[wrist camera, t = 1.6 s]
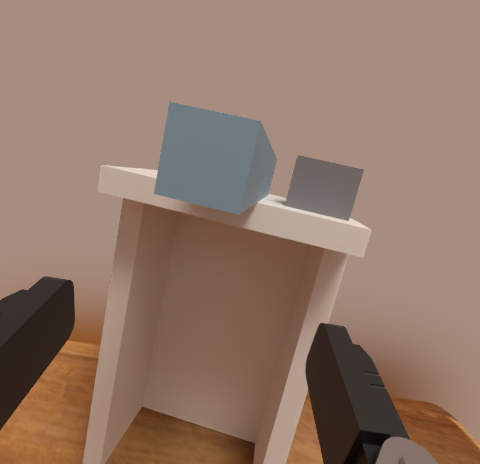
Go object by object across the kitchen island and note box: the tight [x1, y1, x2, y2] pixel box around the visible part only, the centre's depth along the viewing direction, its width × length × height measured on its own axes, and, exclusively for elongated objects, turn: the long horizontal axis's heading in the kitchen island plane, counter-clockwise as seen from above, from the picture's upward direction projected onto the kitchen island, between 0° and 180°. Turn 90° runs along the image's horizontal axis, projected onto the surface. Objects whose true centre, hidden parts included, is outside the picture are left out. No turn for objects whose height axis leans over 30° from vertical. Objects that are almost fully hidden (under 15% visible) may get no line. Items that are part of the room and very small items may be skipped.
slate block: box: [154, 102, 277, 215], centre depth 24 cm, size 4×22×4 cm, turn 171°
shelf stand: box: [82, 165, 372, 464], centre depth 33 cm, size 20×16×32 cm
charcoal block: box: [285, 155, 364, 221], centre depth 26 cm, size 5×5×4 cm
